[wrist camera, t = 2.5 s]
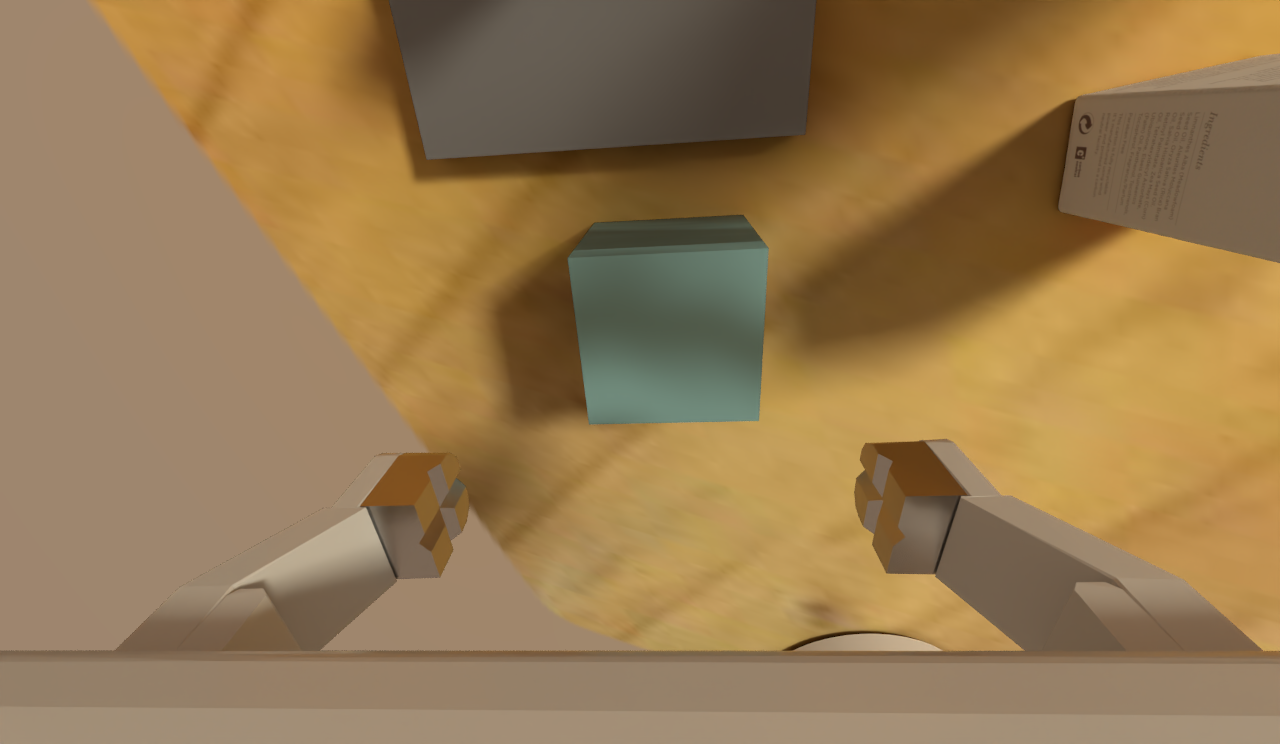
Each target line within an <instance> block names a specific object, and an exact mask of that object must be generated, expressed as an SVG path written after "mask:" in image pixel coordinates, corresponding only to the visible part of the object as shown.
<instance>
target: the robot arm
mask: <svg viewBox="0 0 1280 744" xmlns="http://www.w3.org/2000/svg"><path fill="white" fill-rule="evenodd" d="M860 461H861V463H862V465H863V467H864V469H865V470H864V471H863V472H862V473H861V474H860V475H859V476H858V477H857V478H856V484H855V491H854V494H855V506H856V509H857V513H858V516H859V518H860V521H861V523H862V525H863V527H865V528H866V529H868V530H869V531H871V532H872V533H873V534H874V538H873V543H872V545H873V547H874V549H875V551H876V553H877V555H878V557H879V559H880V561H881V563H882V565H883V567H884V569H885V571H886V573H891V574H936V576H935V577H936V578H938V579H939V580H940V581H941V582H943V583H944V584H945V585H946V586H947V587H949V588H950V589H951V590H952V591H953V592H955V593H956V594H957V595H958V596H959V597H961V598H962V599H963V600H964V601H966V602H967V603H968V604H969V605H970V606H972V607H973V608H974V609H975V610H976V611H978V612H979V613H980V614H981V615H982V616H984V617H985V618H986V619H987V620H989V621H990V622H991V623H992V624H993V625H995V626H996V627H997V628H998V629H999V630H1001V631H1002V632H1003V633H1004V634H1005V635H1007V636H1008V637H1009V638H1010V639H1012V640H1013V641H1014V642H1015V643H1016V644H1018V645H1019V646H1020V647H1021V648H1022V649H1024V650H1025V651H943V650H941V649H939V648H937V647H935V646H933V645H930V644H928V643H925V642H923V641H919V640H916V639H912V638H908V637H903V636H897V635H888V634H853V635H844V636H838V637H832V638H828V639H823V640H820V641H816V642H813V643H810V644H807V645H804V646H802V647H799V648H797V649H795V650H793V651H319V650H321V649H322V648H323V647H324V645H326V644H327V643H328V642H329V641H331V640H332V639H333V638H334V637H335V636H336V635H337V634H338V633H340V632H341V631H342V630H343V629H344V628H345V627H346V626H347V625H348V624H350V623H351V622H352V621H353V620H354V619H355V618H356V617H358V616H359V615H360V614H361V613H362V612H363V611H364V610H365V609H366V608H367V607H369V606H370V605H371V604H372V603H373V602H374V601H375V600H377V599H378V598H379V597H380V596H381V595H382V594H383V593H384V592H386V591H387V590H388V589H389V588H390V587H391V586H392V585H393V584H394V583H395V582H396V581H397V580H396V579H410V578H434V577H435V578H437V577H441V574H442V572H443V570H444V568H445V566H446V564H447V562H448V560H449V558H450V556H451V554H452V552H453V547H452V544H451V540H452V539H453V538H455V537H456V536H457V535H459V534H460V533H461V532H462V531H463V528H464V526H465V524H466V522H467V517H468V511H469V497H468V492H467V489H466V486H465V485H464V484H463V483H461V482H460V481H459V480H458V479H457V478H456V477H457V475H458V473H459V472H460V470H461V468H460V465H459V462H458V459H457V456H455V455H454V454H452V453H382V454H379V455H376V456H374V458H373V459H372V460H371V461H370V462H369V464H368V465H367V466H366V467H365V468H364V470H363V471H362V472H361V473H360V474H359V475H358V477H357V478H356V479H355V480H354V481H353V482H352V484H351V485H350V486H349V487H348V489H347V490H346V491H345V492H344V493H343V494H342V495H341V497H340V498H339V499H338V500H337V501H336V503H335V504H334V505H333V506H332V507H331V508H322V509H321V510H319V511H317V512H315V513H313V514H311V515H310V516H308V517H306V518H304V519H302V520H301V521H299V522H297V523H295V524H293V525H291V526H290V527H288V528H286V529H284V530H283V531H281V532H279V533H277V534H275V535H273V536H271V537H270V538H268V539H266V540H264V541H262V542H260V543H259V544H257V545H255V546H253V547H251V548H250V549H248V550H246V551H244V552H242V553H240V554H239V555H237V556H235V557H233V558H231V559H230V560H228V561H226V562H224V563H222V564H220V565H219V566H217V567H215V568H213V569H211V570H210V571H208V572H206V573H204V574H202V575H200V576H199V577H197V578H195V579H193V580H192V581H190V582H188V583H186V584H184V585H182V586H181V587H179V588H178V589H177V590H176V591H175V592H174V593H173V594H172V595H171V596H170V597H169V598H168V599H167V600H166V601H165V602H164V603H163V604H162V605H161V606H160V607H159V608H158V609H157V610H156V611H155V612H154V613H153V614H152V615H151V616H150V617H148V618H147V619H146V620H145V621H144V623H142V624H141V625H140V626H139V627H138V628H137V629H136V630H135V631H134V632H133V633H132V634H131V635H130V636H129V637H128V638H127V639H126V640H125V641H124V642H123V643H122V644H121V645H120V646H119V647H118V648H117V649H116V650H115V651H0V744H1280V651H1263V650H1262V649H1261V648H1260V647H1258V646H1257V645H1256V644H1255V643H1254V642H1253V641H1252V640H1251V639H1249V638H1248V637H1247V636H1246V635H1245V634H1244V633H1243V632H1242V631H1241V630H1239V629H1238V628H1237V627H1236V626H1235V625H1234V624H1233V623H1232V622H1230V621H1229V620H1228V619H1227V618H1226V617H1225V616H1224V615H1223V614H1221V613H1220V612H1219V611H1218V610H1217V609H1216V608H1215V607H1214V606H1213V605H1211V604H1210V603H1209V602H1208V601H1207V600H1206V599H1205V598H1204V597H1202V596H1201V595H1200V594H1199V593H1198V592H1197V591H1196V590H1195V589H1194V588H1192V587H1191V586H1190V585H1189V584H1188V583H1187V582H1186V581H1185V580H1183V579H1181V578H1179V577H1177V576H1175V575H1173V574H1171V573H1169V572H1167V571H1165V570H1163V569H1161V568H1159V567H1156V566H1154V565H1152V564H1150V563H1148V562H1146V561H1144V560H1142V559H1140V558H1138V557H1136V556H1134V555H1132V554H1130V553H1128V552H1126V551H1124V550H1122V549H1119V548H1117V547H1115V546H1113V545H1111V544H1109V543H1107V542H1105V541H1103V540H1101V539H1099V538H1097V537H1095V536H1093V535H1091V534H1089V533H1087V532H1085V531H1083V530H1080V529H1078V528H1076V527H1074V526H1072V525H1070V524H1068V523H1066V522H1064V521H1062V520H1060V519H1058V518H1056V517H1054V516H1052V515H1050V514H1048V513H1046V512H1043V511H1041V510H1039V509H1037V508H1035V507H1033V506H1031V505H1029V504H1027V503H1025V502H1023V501H1021V500H1019V499H1017V498H1015V497H1013V496H1002V495H1001V494H1000V493H999V492H998V491H997V490H996V489H995V488H994V487H993V485H992V484H991V483H990V482H989V481H988V480H987V479H986V478H985V477H984V475H983V474H982V473H981V472H980V471H979V470H978V469H977V468H976V467H975V465H974V464H973V463H972V462H971V461H970V460H969V459H968V458H967V457H966V455H965V454H964V453H963V452H962V451H961V450H960V449H959V448H958V447H957V445H956V444H955V443H954V442H952V441H950V440H948V439H938V440H920V441H914V442H881V443H865V445H864V447H863V448H862V451H861V456H860Z"/></svg>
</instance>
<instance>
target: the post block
mask: <svg viewBox="0 0 1280 744" xmlns="http://www.w3.org/2000/svg"><path fill="white" fill-rule="evenodd" d="M389 3H390V8H391V12H392V16H393V20H394V24H395V29H396V33H397V37H398V41H399V45H400V50H401V54H402V58H403V62H404V66H405V71H406V75H407V79H408V83H409V87H410V92H411V96H412V100H413V104H414V108H415V113H416V117H417V121H418V125H419V129H420V134H421V138H422V142H423V146H424V150H425V155H426V159H427V160H430V159H445V158H460V157H475V156H491V155H506V154H521V153H536V152H551V151H566V150H581V149H596V148H611V147H626V146H641V145H656V144H672V143H687V142H702V141H717V140H732V139H747V138H762V137H777V136H792V135H805V133H806V121H807V108H808V96H809V84H810V71H811V59H812V47H813V35H814V22H815V10H816V0H389Z"/></svg>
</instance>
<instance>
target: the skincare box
mask: <svg viewBox="0 0 1280 744" xmlns="http://www.w3.org/2000/svg"><path fill="white" fill-rule="evenodd" d="M1058 209H1059V211H1060V212H1063V213H1068V214H1072V215H1076V216H1081V217H1084V218H1088V219H1093V220H1098V221H1102V222H1106V223H1110V224H1115V225H1120V226H1124V227H1128V228H1133V229H1137V230H1141V231H1145V232H1149V233H1154V234H1158V235H1161V236H1167V237H1171V238H1175V239H1179V240H1182V241H1187V242H1191V243H1195V244H1200V245H1204V246H1208V247H1213V248H1218V249H1223V250H1227V251H1231V252H1235V253H1239V254H1244V255H1248V256H1252V257H1256V258H1261V259H1265V260H1269V261H1273V262H1278V263H1280V54H1272V55H1263V56H1258V57H1253V58H1248V59H1244V60H1239V61H1235V62H1230V63H1225V64H1221V65H1216V66H1212V67H1207V68H1203V69H1198V70H1194V71H1189V72H1185V73H1180V74H1175V75H1171V76H1166V77H1162V78H1157V79H1153V80H1148V81H1144V82H1139V83H1135V84H1130V85H1126V86H1122V87H1117V88H1112V89H1108V90H1104V91H1099V92H1095V93H1090V94H1085V95H1081V96H1079V97H1077V99H1076V101H1075V106H1074V112H1073V118H1072V124H1071V130H1070V136H1069V144H1068V150H1067V156H1066V163H1065V170H1064V176H1063V181H1062V187H1061V193H1060V198H1059V205H1058Z"/></svg>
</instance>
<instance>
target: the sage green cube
mask: <svg viewBox="0 0 1280 744" xmlns="http://www.w3.org/2000/svg"><path fill="white" fill-rule="evenodd" d="M768 249H769V248H768V247H767V246H766V244H765V243H764V242H763V240H762V239H761V238H760V236H759V235H758V234H757V232H756V231H755V230H754V228H753V227H752V226H751V225H750V223H749V222H748V221H747V219H746V218H745V217H744V215H730V216H712V217H693V218H675V219H656V220H638V221H619V222H601V223H594V224H593V225H592V227H591V228H590V229H589V231H588V232H587V233H586V235H585V236H584V237H583V239H582V240H581V241H580V242H579V244H578V245H577V246H576V248H575V249H574V250H573V252H572V253H571V254H570V255H569V257H568V265H569V273H570V281H571V288H572V296H573V304H574V311H575V319H576V327H577V335H578V342H579V350H580V358H581V365H582V373H583V381H584V389H585V396H586V404H587V412H588V420H589V424H629V423H678V422H726V421H759V410H760V392H761V374H762V356H763V338H764V320H765V303H766V285H767V267H768Z"/></svg>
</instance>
